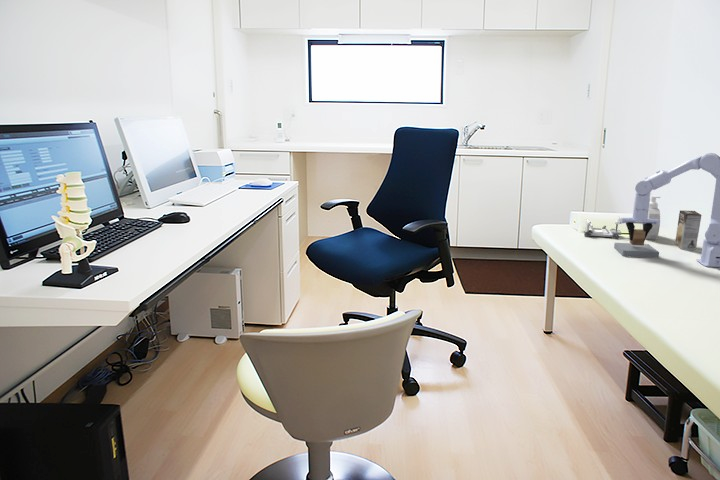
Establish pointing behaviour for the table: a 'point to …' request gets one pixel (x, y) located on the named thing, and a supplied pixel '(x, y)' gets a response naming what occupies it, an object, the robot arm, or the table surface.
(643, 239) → the walnut block
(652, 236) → the soap bottle
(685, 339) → the table surface
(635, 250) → the grey box
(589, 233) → the toy rover
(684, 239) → the coffee box
